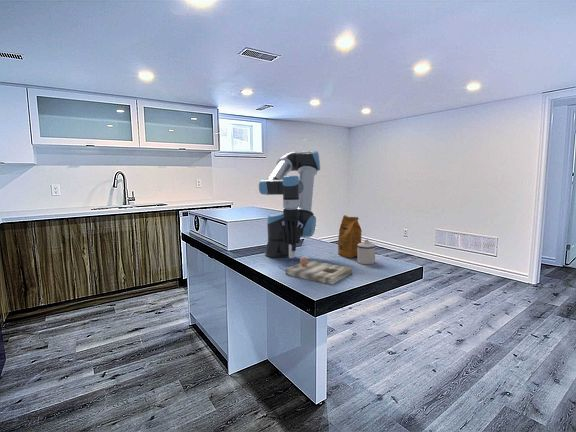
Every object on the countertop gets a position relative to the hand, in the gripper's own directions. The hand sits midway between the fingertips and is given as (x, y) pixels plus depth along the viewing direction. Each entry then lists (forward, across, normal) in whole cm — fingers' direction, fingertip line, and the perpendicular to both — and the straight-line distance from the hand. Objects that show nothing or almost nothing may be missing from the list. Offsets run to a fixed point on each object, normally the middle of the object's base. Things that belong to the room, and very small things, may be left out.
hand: (291, 257), depth 152 cm
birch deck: (+6, +15, 0) cm, 16 cm away
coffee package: (+5, +12, +37) cm, 40 cm away
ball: (+3, +7, 0) cm, 8 cm away
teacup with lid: (+5, +24, +30) cm, 39 cm away
